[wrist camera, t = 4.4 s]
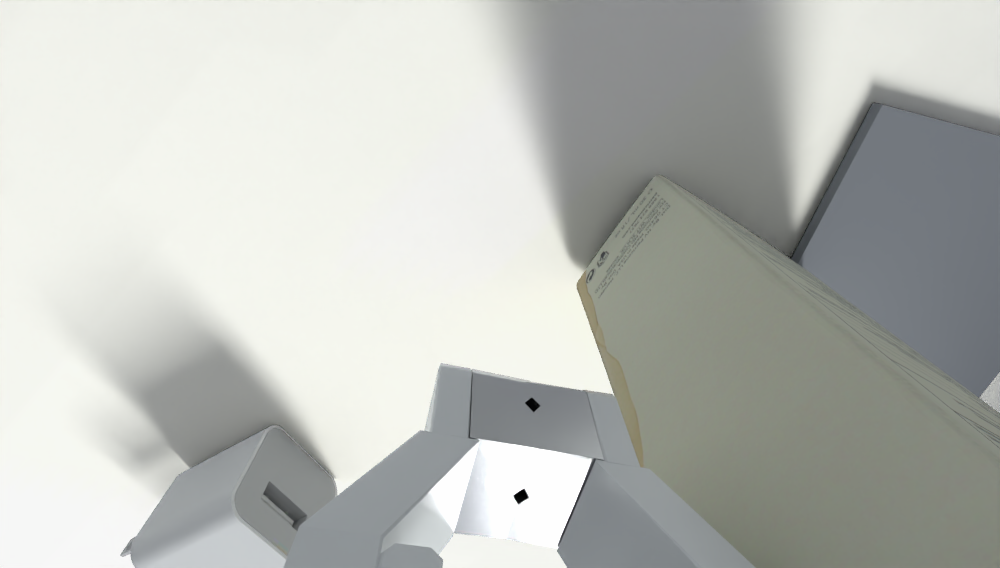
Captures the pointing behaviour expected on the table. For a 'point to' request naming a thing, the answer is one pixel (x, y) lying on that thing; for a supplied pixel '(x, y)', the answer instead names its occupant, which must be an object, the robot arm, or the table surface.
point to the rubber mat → (917, 238)
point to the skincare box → (785, 401)
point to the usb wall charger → (235, 507)
